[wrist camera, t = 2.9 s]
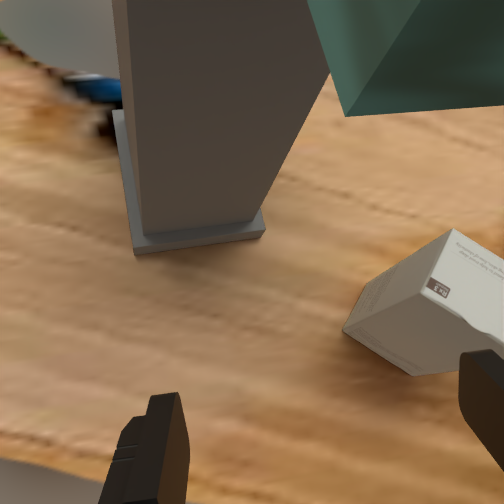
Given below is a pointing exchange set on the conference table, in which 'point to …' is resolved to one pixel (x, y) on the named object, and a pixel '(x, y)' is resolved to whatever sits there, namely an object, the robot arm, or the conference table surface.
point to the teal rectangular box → (412, 53)
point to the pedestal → (209, 112)
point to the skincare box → (433, 307)
